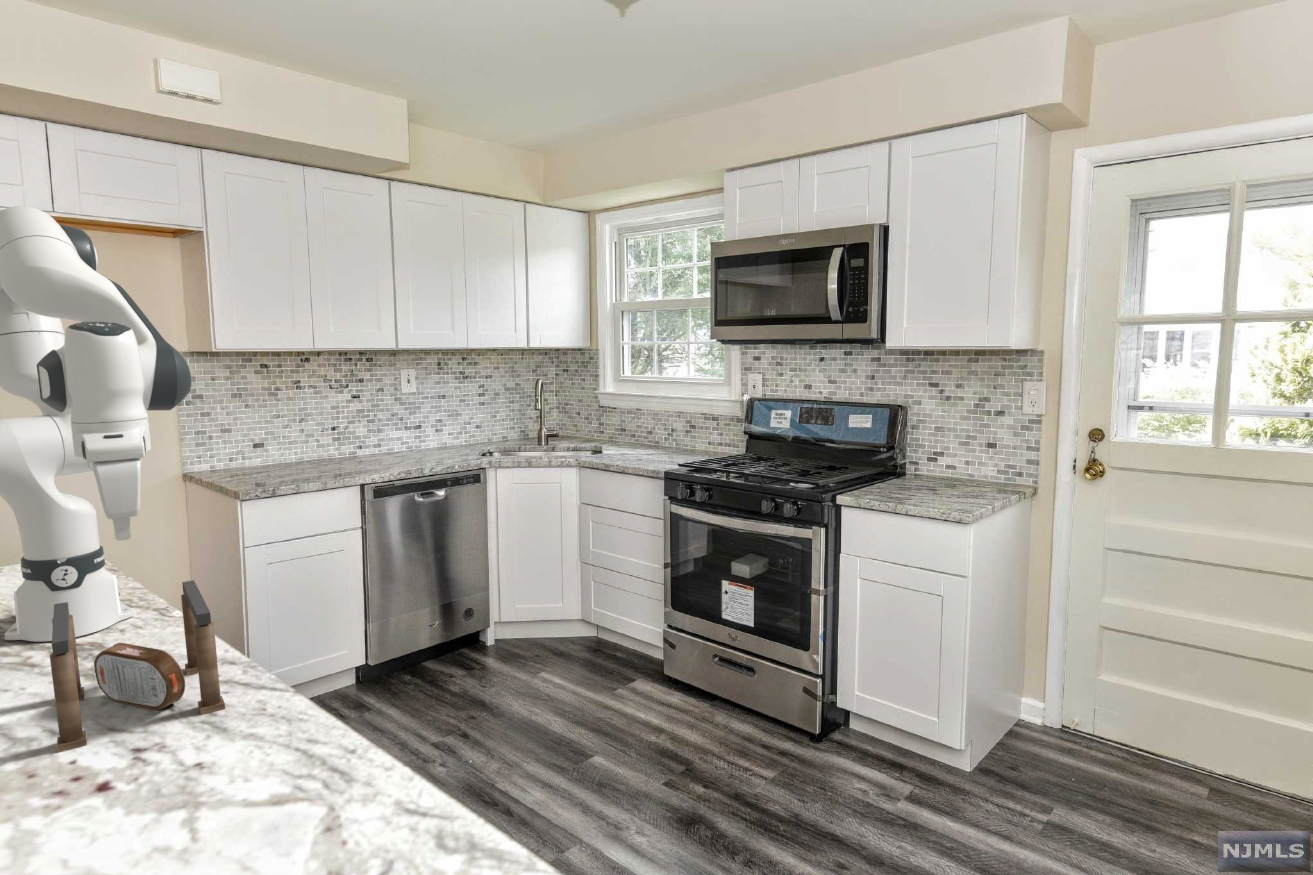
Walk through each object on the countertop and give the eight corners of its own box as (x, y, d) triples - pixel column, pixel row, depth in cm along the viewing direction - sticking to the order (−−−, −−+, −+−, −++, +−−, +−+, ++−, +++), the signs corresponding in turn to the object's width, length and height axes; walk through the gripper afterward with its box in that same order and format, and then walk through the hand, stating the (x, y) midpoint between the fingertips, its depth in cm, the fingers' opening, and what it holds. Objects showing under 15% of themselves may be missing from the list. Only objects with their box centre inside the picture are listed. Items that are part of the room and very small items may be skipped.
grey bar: (55, 614, 113) (54, 604, 113) (69, 612, 114) (67, 601, 114) (53, 655, 99) (51, 643, 99) (68, 652, 100) (67, 640, 100)
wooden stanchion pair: (59, 697, 115) (49, 616, 113) (206, 663, 126) (199, 590, 125) (57, 752, 100) (46, 660, 98) (225, 708, 111) (217, 625, 109)
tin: (189, 706, 112) (184, 650, 111) (169, 716, 109) (163, 659, 108) (114, 691, 117) (108, 637, 116) (93, 700, 114) (86, 646, 113)
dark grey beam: (183, 591, 123) (182, 582, 123) (194, 589, 124) (193, 580, 123) (198, 625, 108) (197, 614, 108) (211, 623, 109) (210, 612, 109)
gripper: (83, 435, 114) (93, 527, 116) (85, 451, 98) (97, 558, 100) (135, 431, 118) (144, 520, 120) (145, 446, 102) (155, 549, 104)
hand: (123, 538), depth 110 cm, fingers closed
